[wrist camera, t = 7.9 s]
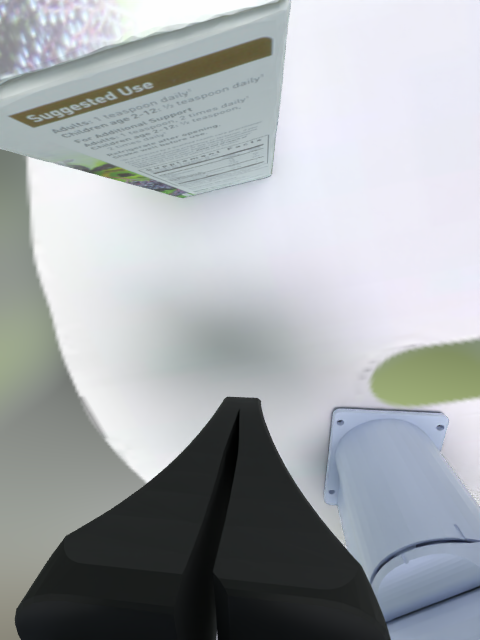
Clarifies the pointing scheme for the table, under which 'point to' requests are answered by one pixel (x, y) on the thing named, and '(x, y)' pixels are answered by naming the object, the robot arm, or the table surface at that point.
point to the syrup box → (145, 88)
